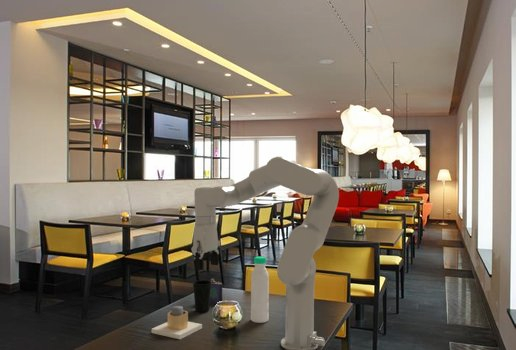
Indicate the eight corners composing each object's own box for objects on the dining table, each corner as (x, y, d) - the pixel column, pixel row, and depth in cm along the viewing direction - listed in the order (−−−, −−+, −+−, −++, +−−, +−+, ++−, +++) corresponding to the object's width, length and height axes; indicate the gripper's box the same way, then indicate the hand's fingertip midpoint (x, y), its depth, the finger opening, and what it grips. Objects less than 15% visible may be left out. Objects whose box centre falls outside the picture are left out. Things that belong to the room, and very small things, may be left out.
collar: (191, 325, 170) (191, 311, 170) (179, 331, 164) (179, 317, 164) (176, 322, 174) (176, 308, 173) (163, 327, 167) (163, 314, 167)
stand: (202, 328, 171) (202, 305, 171) (180, 339, 160) (180, 315, 160) (174, 322, 178) (174, 300, 177) (151, 332, 166) (151, 309, 166)
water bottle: (266, 324, 176) (267, 259, 176) (249, 322, 178) (249, 258, 178) (270, 318, 183) (270, 255, 183) (252, 317, 185) (253, 255, 184)
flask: (201, 302, 204) (201, 278, 204) (203, 301, 207) (204, 277, 207) (221, 304, 202) (221, 280, 202) (223, 302, 205) (223, 278, 205)
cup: (189, 311, 191) (189, 283, 191) (199, 307, 198) (199, 279, 198) (204, 314, 187) (204, 285, 187) (214, 309, 194) (214, 281, 194)
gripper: (210, 218, 178) (211, 262, 178) (183, 223, 163) (184, 271, 163) (226, 218, 175) (228, 263, 174) (200, 223, 159) (202, 272, 159)
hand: (207, 267), depth 169 cm, fingers open, 9 cm apart
